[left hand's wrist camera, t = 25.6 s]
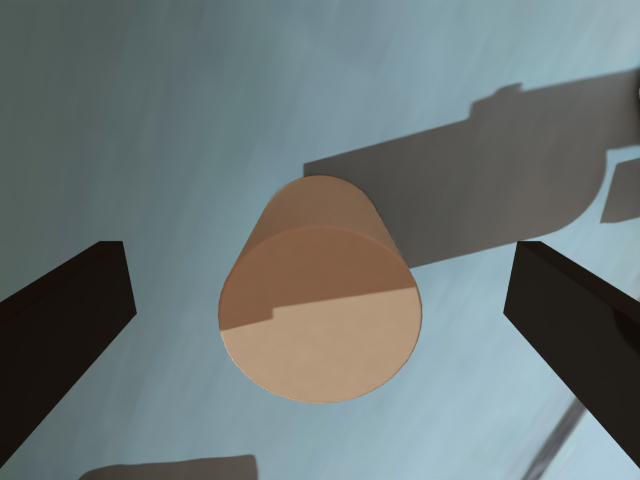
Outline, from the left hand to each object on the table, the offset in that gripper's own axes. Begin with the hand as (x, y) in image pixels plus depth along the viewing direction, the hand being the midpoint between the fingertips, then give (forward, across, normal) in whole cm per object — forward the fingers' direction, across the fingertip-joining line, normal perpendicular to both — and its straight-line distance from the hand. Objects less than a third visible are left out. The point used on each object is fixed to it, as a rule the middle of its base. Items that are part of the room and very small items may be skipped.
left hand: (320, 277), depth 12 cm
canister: (+5, 0, 0) cm, 5 cm away
